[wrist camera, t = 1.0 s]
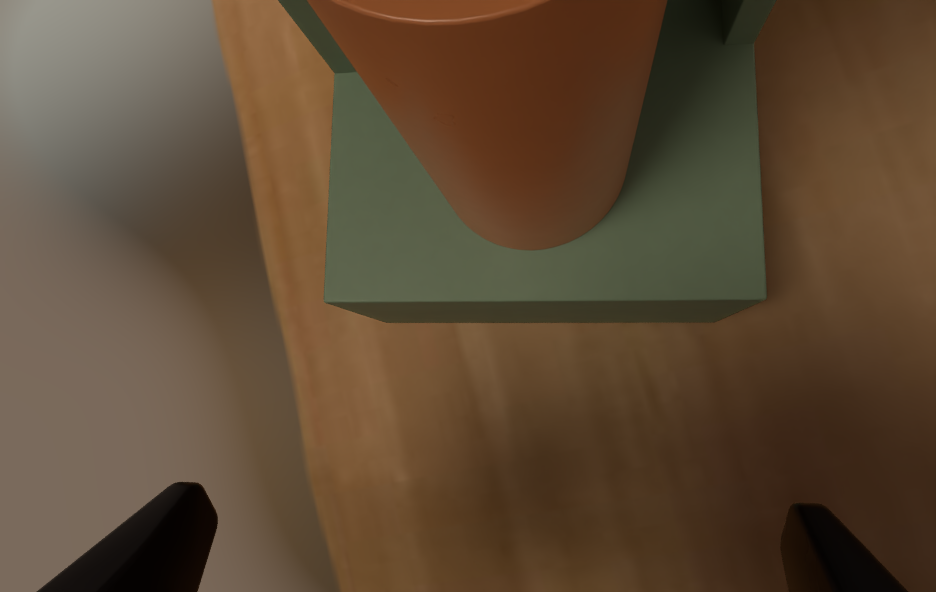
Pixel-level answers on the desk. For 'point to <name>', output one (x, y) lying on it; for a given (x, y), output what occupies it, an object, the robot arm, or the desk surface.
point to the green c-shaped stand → (597, 251)
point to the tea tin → (509, 101)
